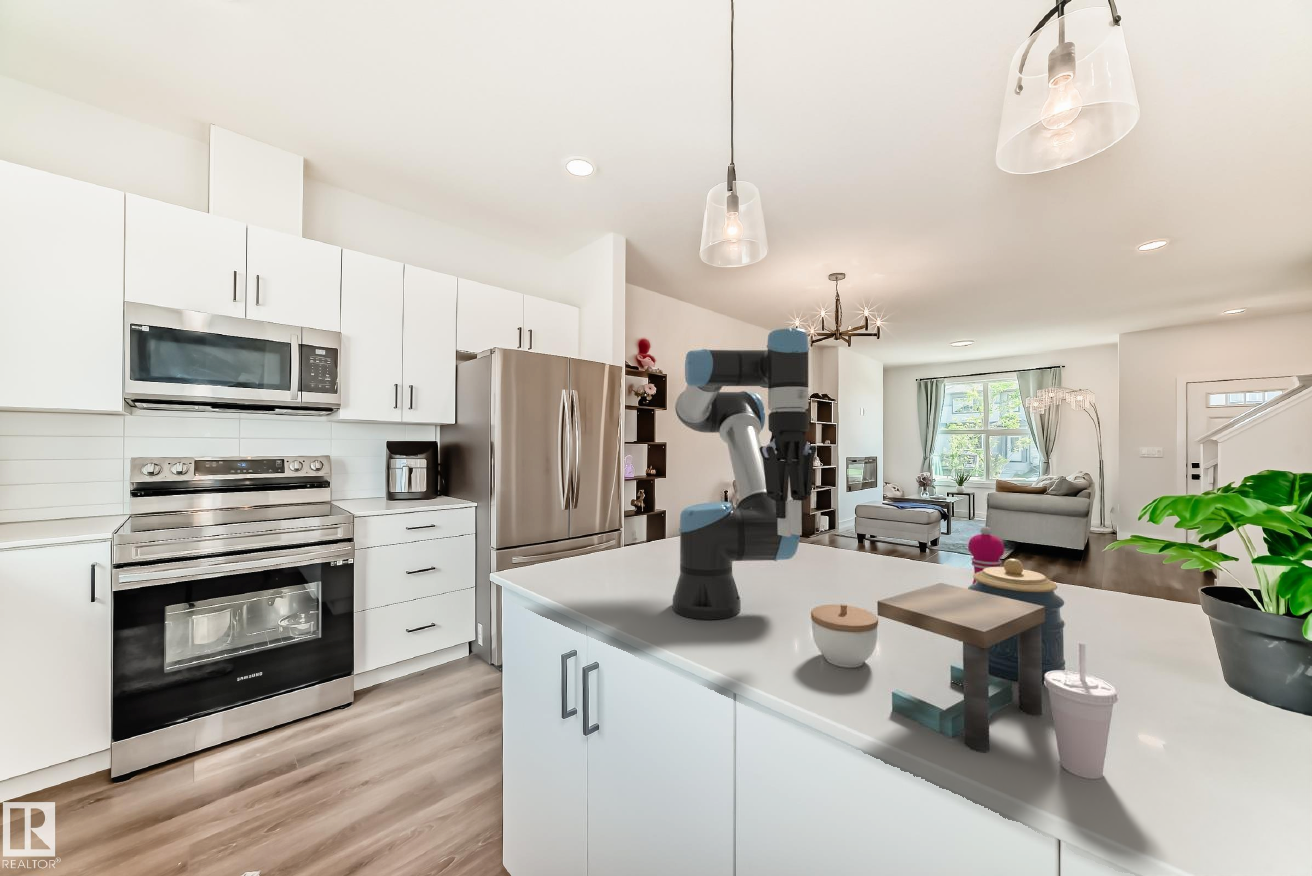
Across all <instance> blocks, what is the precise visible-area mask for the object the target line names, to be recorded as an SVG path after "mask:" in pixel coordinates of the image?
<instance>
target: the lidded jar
mask: <svg viewBox="0 0 1312 876" xmlns="http://www.w3.org/2000/svg"><path fill="white" fill-rule="evenodd" d="M810 619H811V631H812V636H813V640H814V643H815V646H816V648H817V649H818V651H819V652H820V653H821V654H822V656H823V657H824V658H825V660H826V661H827V662H828V663H830V664H832V665H834V666H837V667H841V668H846V669H847V668H848V669H849V668H851V669H853V668H860V667H861V666H863V665H864V663H865V662H866V661H867V660H869V658H871V657H872V655H873V653H874V651H875V649H876V646H877V641H878V626H879V618H878V615H876V614H875V613H873V612H871V611H869V610H867V609H865V608H861V607H858V606H852V605H848V604H846V603H840V604H824V605H823V604H822V605H819V606H816V607H814V608H812V609H811V611H810Z"/></svg>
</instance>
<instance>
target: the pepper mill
mask: <svg viewBox="0 0 1312 876" xmlns="http://www.w3.org/2000/svg"><path fill="white" fill-rule="evenodd" d="M980 533H981V534H980ZM980 533H979V534H976V535H974V536H972V537H970V539H969V540H968V544H967V545H968V546H967V547H968V548H967V549H968V551H969V553H970V554H971V555H972V557H971V559H970V560H971V563H970V564H971V566H973V567H974V568H973V570H974V573H973V575H974V574H975V573H977V572H980V571H982V570H983V569H985V568H989V567H1002V560H1000V559H1001V558H1002V556H1003V555H1005V546H1004V543H1003V542H1002V540H1001V539H1000V538H999V537H997V536H996V535H995V536H994V535H992V534H991V533H992V530H991V528H990V527H988V526H982V527H981V528H980ZM975 583H976V580H975V579H974V578H973V581H972V584H971V585H973V584H975Z"/></svg>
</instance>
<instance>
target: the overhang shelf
mask: <svg viewBox="0 0 1312 876" xmlns="http://www.w3.org/2000/svg"><path fill="white" fill-rule="evenodd" d="M876 607H877V608H876V610H877V617H878V616H879V617H883V618H885V619H888V620H892V621H895V622H898V623H901V624H904V625H908V626H911V627H914V628H918V629H920V630H924V631H926V632H927V631H928V632H930V633H933V634H936V635H939V636H943V637H946V638H950V639H953V640H955V641H958V642H962V652H963V653H962V664H963V665H960V664H957V663H952V664H950V682H951V681H953V682H952V683H954V682H956V683H958V684H957V685H959V684H961V685H963V686H962V687H963V700H960V701H958V702H956V703H954V704H953V705H951V706H949V707H947V708H945V709H943V708H941V707H939V706H936V705H934V704H931V703H929V702H927V701H925V700H923V699H921V698H918V697H916V696H913V695H911V694H909V693H906V692H904V691H901V690H899V689H895V690H893V691H891V710H892V711H894V712H896V713H898V714H900V715H902V716H905V717H906V718H908V719H911V720H912V721H915V722H916V723H919V724H922V725H923V726H924V727H927V728H930V729H931V730H934V731H936V732H938V733H940V734H942V735H944V736H946V737H949V738H950V739H953V738H955V737H956V736H958V735H959V734H962V733H963V740H964V741H963V743H964V745H965V747H967V748H968V749H970V750H972V751H975V752H978V753H988V752H989V751H990V716H991V715H992V714H995V713H996V712H998V711H999V710H1001V709H1003V708H1004V707H1006V706H1007V704H1008V705H1010V704H1011V703H1012V701H1013V702H1014V698H1013V697H1014V691H1013V690H1014V688H1013V687H1014V686H1013V683H1011V682H1009V681H1007V680H1003V679H1000V678H998V677H995V676H992V675H989V672H988V647H989V646H992V645H994V644H996V643H998V642H1000V641H1003V640H1005V639H1007V638H1009V637H1012V636H1014V635H1016V634H1018V681H1017V682H1018V687H1017V688H1018V710H1019V711H1020V712H1022V713H1024V714H1026V715H1028V716H1033V717H1040V716H1042V715H1043V683H1042V656H1041V623H1042V622H1045V606H1041V605H1036V604H1032V603H1027V602H1023V601H1019V600H1014V599H1010V598H1005V597H1001V596H997V595H992V594H988V593H983V592H979V591H974V590H970V589H968V588H966V587H962V586H961V587H960V586H957V585H952V584H948V583H943V582H940V583H935V584H932V585H928V586H926V587H925V586H924V587H923V588H922V587H921V588H919V589H916V590H912V591H908V592H904V593H902V594H898V595H897V594H896V595H893V596H891V597H886V598H884V599H880V600H877V606H876ZM956 683H955V684H956ZM961 685H960V686H961Z"/></svg>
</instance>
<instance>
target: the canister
mask: <svg viewBox="0 0 1312 876" xmlns="http://www.w3.org/2000/svg"><path fill="white" fill-rule="evenodd" d="M972 577H973V580H974V579H975V580H976V583H975V584H973V583H972V584H973V585H972V584H971V585H970V586H969V585H968V587H967V589H970V590H974V591H979V592H983V593H988V594H992V595H997V596H1001V597H1005V598H1010V599H1014V600H1019V601H1023V602H1027V603H1032V604H1036V605H1041V606H1045V622H1042V623H1041V656H1042V684H1044V681H1045V674H1046V673H1047V672H1049V671H1054V670H1063V671H1066V660H1065V652H1064V651H1065V649H1064V646H1065V645H1064V640H1065V639H1064V628H1065V627H1066V622H1065V620H1063V619H1062V616H1061V609H1062V607H1064V605H1065V600H1064V599H1063V598H1062V597H1060V596H1059V595H1058V594H1056V592H1055V591H1056V590H1057V589H1058V584H1057V583H1056V582H1054V581H1052V580H1051V579H1049V578H1047V576H1046V575H1044V574H1042V573H1040V572H1038V571H1037V572H1036V571H1033V570H1028V569H1024V565H1023V563H1022V562H1021V561H1020V560H1019V559H1016V558H1009V559H1006V560H1005V561H1004V563H1003V566H1001V567H989V568H985V569H983V570H982V571H980V572H977V573H975V574H974V573H973V576H972ZM988 673H990V674H993V675H996V676H999V677H1001V678H1005V679H1009V680H1013V681H1017V682H1018V634H1016V635H1014V636H1012V637H1009V638H1007V639H1005V640H1003V641H1000V642H998V643H996V644H994V645H992V646H989V647H988Z"/></svg>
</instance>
